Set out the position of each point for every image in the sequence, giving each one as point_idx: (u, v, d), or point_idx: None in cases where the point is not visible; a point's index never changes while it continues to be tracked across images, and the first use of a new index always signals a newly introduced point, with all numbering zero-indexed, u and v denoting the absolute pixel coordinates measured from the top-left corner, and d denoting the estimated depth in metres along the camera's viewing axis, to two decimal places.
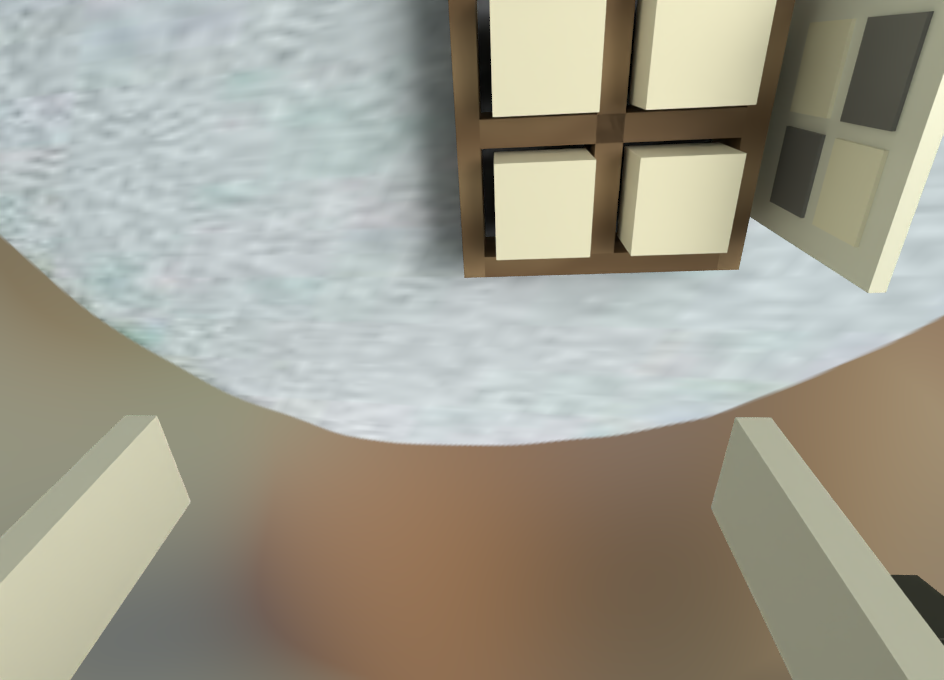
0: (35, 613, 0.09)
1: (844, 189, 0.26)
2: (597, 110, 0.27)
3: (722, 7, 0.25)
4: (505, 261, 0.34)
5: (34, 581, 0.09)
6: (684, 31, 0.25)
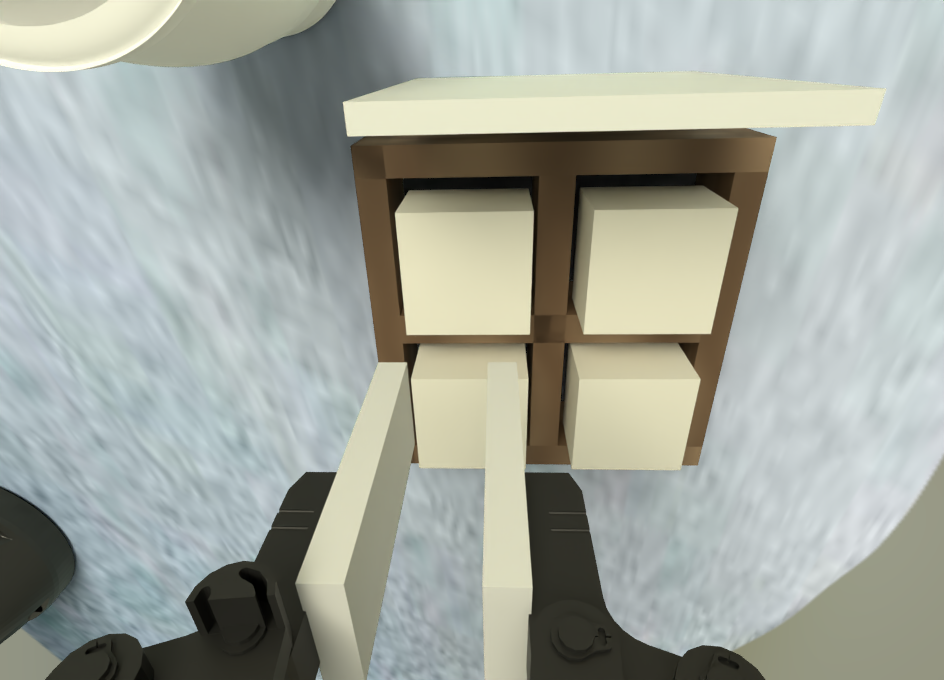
0: (380, 511, 0.10)
1: None
2: (526, 381, 0.25)
3: (428, 270, 0.22)
4: None
5: (381, 484, 0.10)
6: (452, 304, 0.23)
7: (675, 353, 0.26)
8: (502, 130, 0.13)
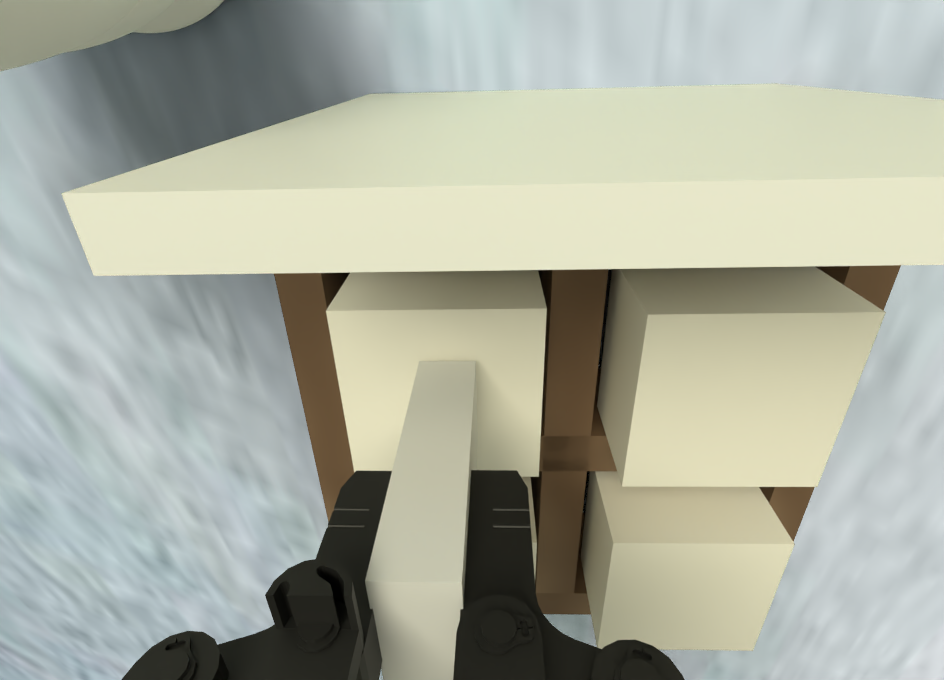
0: None
1: None
2: (534, 544, 0.17)
3: (383, 391, 0.14)
4: None
5: None
6: None
7: (746, 487, 0.18)
8: (496, 265, 0.05)
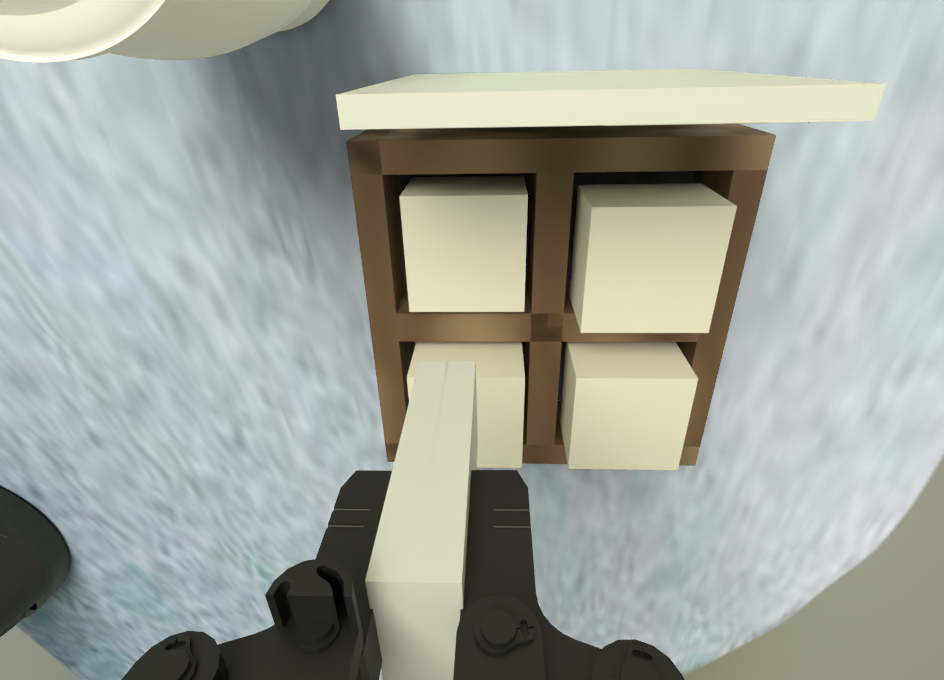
0: None
1: None
2: (523, 379, 0.25)
3: (430, 250, 0.24)
4: None
5: None
6: (451, 283, 0.25)
7: (673, 352, 0.26)
8: (497, 124, 0.13)
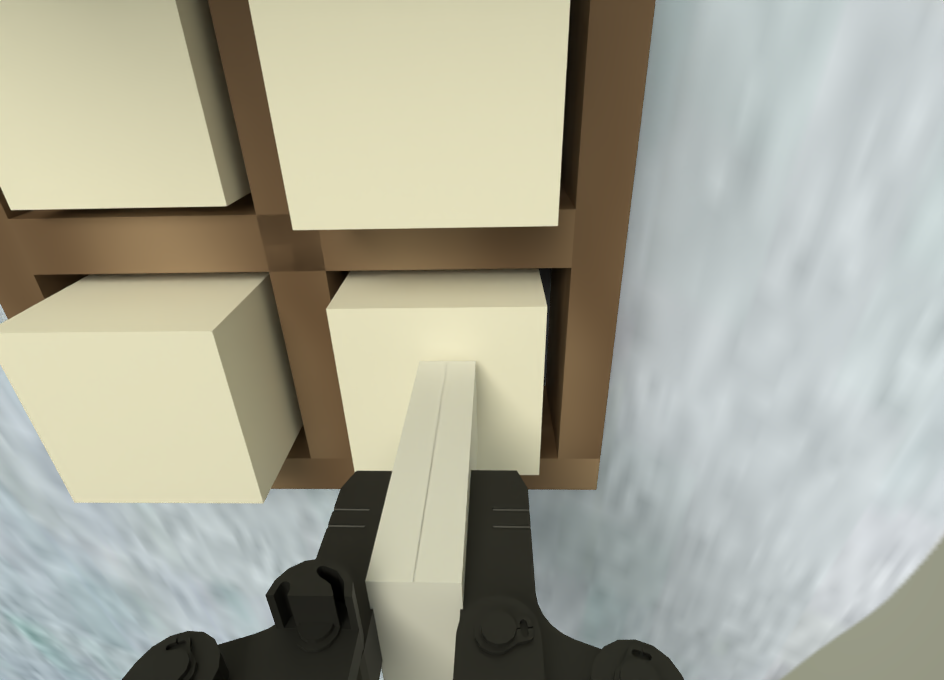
0: None
1: None
2: (209, 335, 0.12)
3: None
4: (570, 425, 0.17)
5: None
6: (69, 146, 0.12)
7: (524, 271, 0.15)
8: None
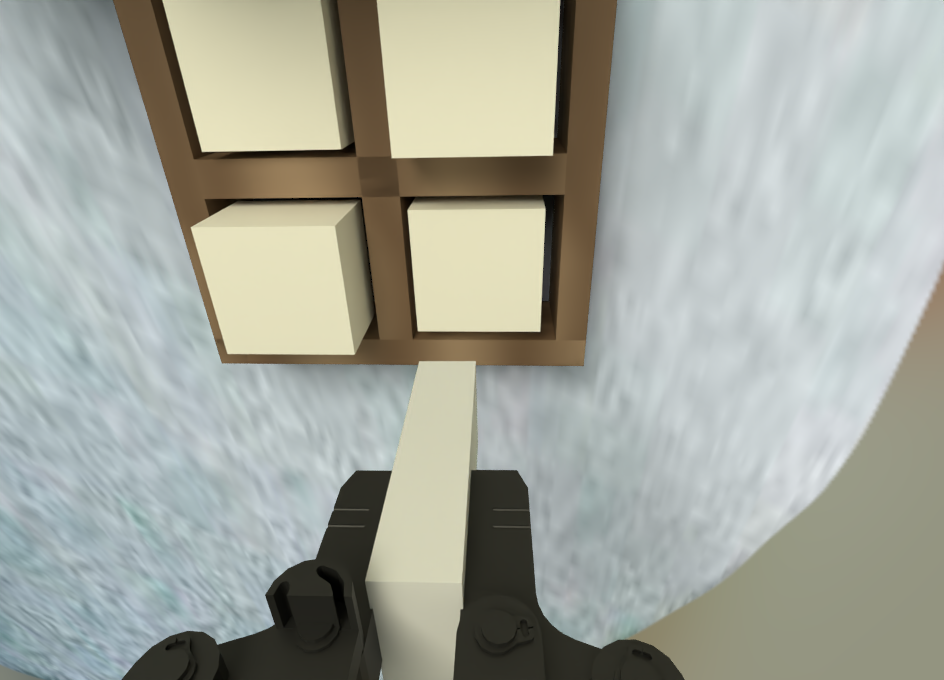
0: None
1: None
2: (333, 228, 0.20)
3: (210, 61, 0.19)
4: (564, 314, 0.24)
5: None
6: (245, 109, 0.20)
7: None
8: None
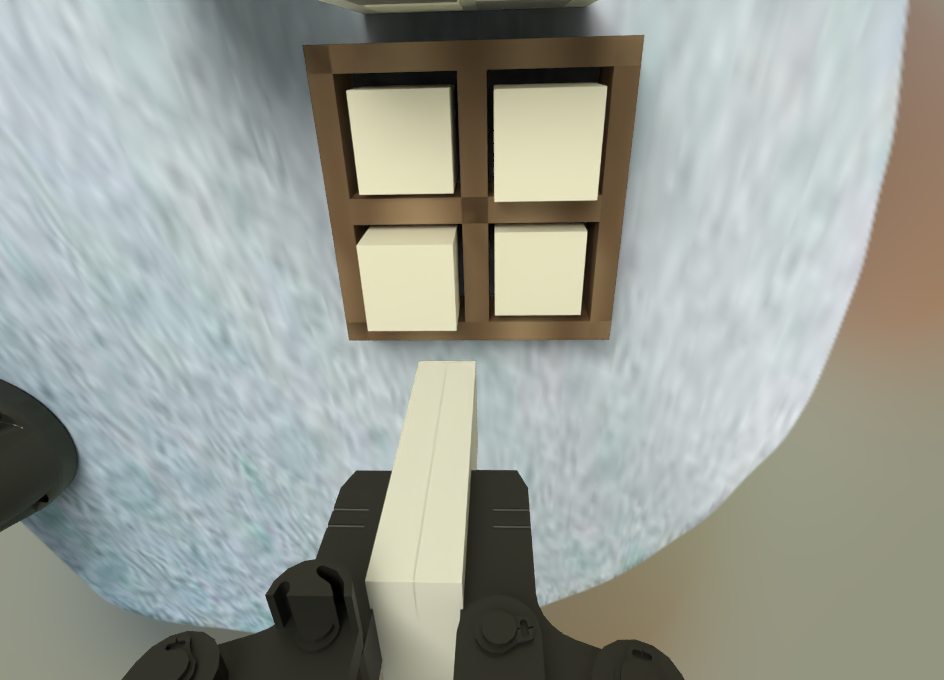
0: None
1: None
2: (451, 246, 0.30)
3: (373, 138, 0.29)
4: (597, 302, 0.34)
5: None
6: (392, 167, 0.30)
7: None
8: None
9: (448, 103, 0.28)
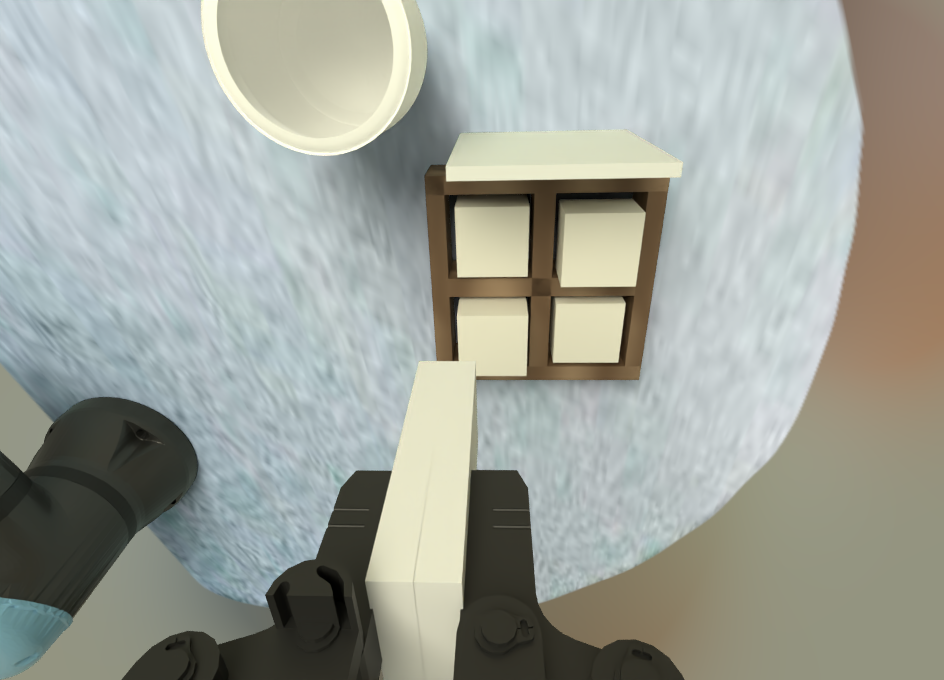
0: None
1: None
2: (527, 316, 0.41)
3: (471, 239, 0.40)
4: (630, 352, 0.45)
5: None
6: (483, 259, 0.41)
7: None
8: (516, 179, 0.29)
9: (528, 216, 0.39)
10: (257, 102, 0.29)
